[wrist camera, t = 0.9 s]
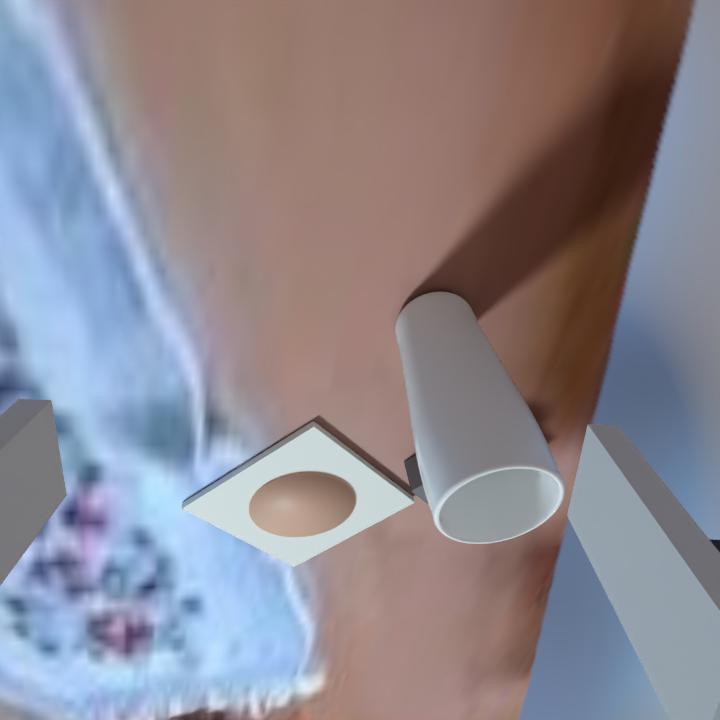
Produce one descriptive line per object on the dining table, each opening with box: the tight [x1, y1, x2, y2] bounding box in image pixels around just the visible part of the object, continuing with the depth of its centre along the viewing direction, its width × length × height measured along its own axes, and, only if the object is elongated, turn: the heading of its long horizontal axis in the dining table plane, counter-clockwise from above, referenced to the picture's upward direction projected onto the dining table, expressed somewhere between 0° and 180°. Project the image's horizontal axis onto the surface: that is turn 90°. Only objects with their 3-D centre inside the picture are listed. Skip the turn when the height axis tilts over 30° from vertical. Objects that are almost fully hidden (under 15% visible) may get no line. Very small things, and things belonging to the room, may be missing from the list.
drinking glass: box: [395, 291, 565, 544], centre depth 36 cm, size 7×7×15 cm
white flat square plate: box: [182, 421, 415, 567], centre depth 52 cm, size 14×14×1 cm
